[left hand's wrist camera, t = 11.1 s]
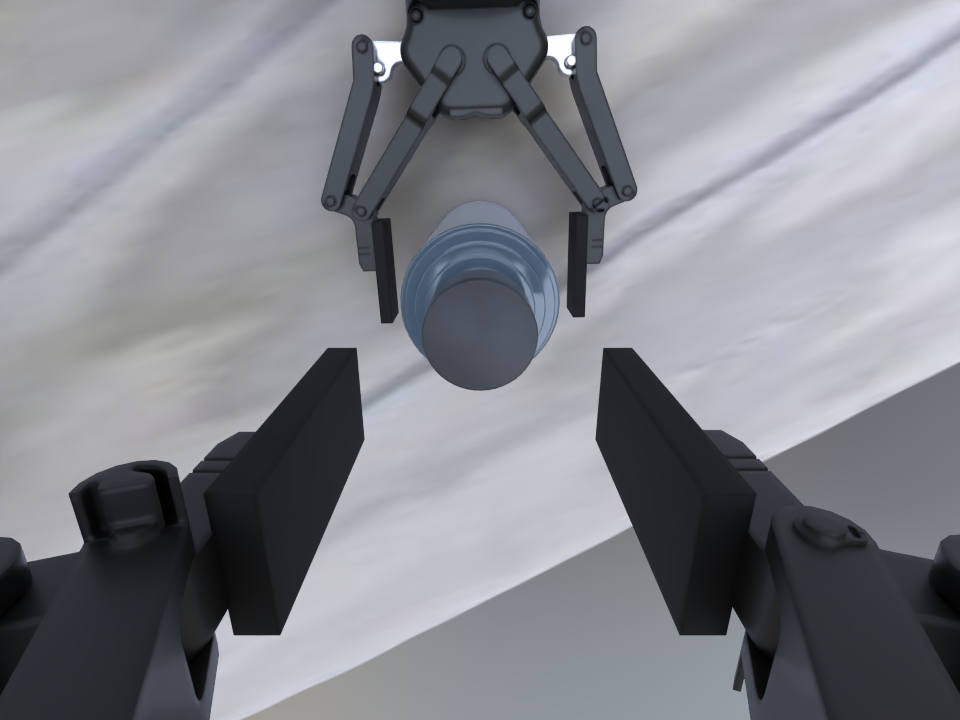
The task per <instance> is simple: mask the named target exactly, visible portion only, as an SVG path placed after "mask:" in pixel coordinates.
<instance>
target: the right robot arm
mask: <svg viewBox="0 0 960 720" xmlns="http://www.w3.org/2000/svg"><path fill="white" fill-rule="evenodd" d="M539 2H540V0H406V12H407V25H406V30H405V34H404V37H403V39H402V41H401V42H394V41H372V40H371V39H370V38H369V37H367V36H366V35H362V34H361V35H357V36H356V37H355V38H354V39H353V41H352V62H353V84H352V87H351V91H350V95H349V98H348V102H347V106H346V109H345V113H344V117H343V120H342V124H341V128H340V131H339V135H338V139H337V142H336V146H335V150H334V153H333V157H332V161H331V164H330V168H329V172H328V175H327V179H326V183H325V186H324V190H323V194H322V197H321V202H322V205H323V207H324V208H325V209H326V210H328V211H335V212H338V213H341V214H344V215H347V216H349V217H350V218H351V219H352V220H353V222H354V224H355V229H356V238H357V247H358V254H359V255H358V256H359V264H360V266H361V268H362V270H363V271H376V277H377V286H378V296H379V306H380V316H381V323H393V321H394V320H395V318H396V316H397V314H398V313H399V311H398V300H397V289H396V278H395V267H394V255H393V244H392V233H391V222H390V218H382V219H378V217H377V215H378V214H379V213H378V211H379V210H380V208H381V206H382V205H383V203H384V202H385V200H386V198H387V197H388V195H389V193H390V192H391V190H392V188H393V187H394V185H395V184H396V182H397V180H398V179H399V177H400V175H401V174H402V172H403V171H404V169H405V167H406V166H407V164H408V162H409V161H410V159H411V157H412V156H413V154H414V153H415V151H416V149H417V148H418V146H419V144H420V143H421V141H422V139H423V138H424V136H425V135H426V133H427V131H428V130H429V129H430V128H431V126H432V125H433V123H434V122H435V120H436V118H437V117H438V115H439V114H440V113H441V114H442V115H443V116H445V117H447V118H451V120H464V119H467V118H470V117H473V116H481V117H485V118H489V119H492V118H502V116H505V115H507V114H509V113H510V112H511V111H512V110H513V111H514V113H515V114H516V116H517V117H518V118H519V120H520V121H521V123H522V124H523V125H524V126H525V127H526V128H527V130H528V131H529V132H530V134H531V135H532V137H533V138H534V139H535V141H536V142H537V144H538V145H539V147H540V148H541V149H542V151H543V152H544V154H545V155H546V156H547V158H548V159H549V161H550V162H551V163H552V165H553V166H554V168H555V169H556V171H557V172H558V173H559V175H560V176H561V178H562V179H563V180H564V182H565V183H566V185H567V186H568V187H569V189H570V190H571V192H572V193H573V195H574V196H575V197H576V199H577V200H578V202H579V203H580V204H581V206H582V212H569V242H568V281H567V308H568V310H569V311H570V313H571V315H572V316H573V317H585V295H586V269H587V264H599V263H600V261H601V259H602V256H603V242H604V241H603V240H604V222H605V215H606V212H607V211H608V210H609V209H610V208H611V207H613V206H615V205H617V204H620V203H622V202H625V201H630V200H632V199H633V198H634V197H635V196H636V194H637V186H636V183H635V180H634V177H633V174H632V171H631V169H630V166H629V163H628V160H627V157H626V154H625V151H624V148H623V145H622V143H621V140H620V137H619V134H618V131H617V128H616V125H615V122H614V119H613V116H612V114H611V111H610V108H609V105H608V102H607V99H606V96H605V93H604V90H603V87H602V85H601V82H600V79H599V76H598V73H597V37H596V33H595V31H594V29H593V28H591V27H589V26H584V27H581V28H580V29H579V30H578V31H577V33H574V34H565V35H555V36H546V34H545V32H544V30H543V28H542V25H541V21H540V13H539ZM545 59H550V60H552V61H553V62H555V64H556V66H557V69H558V72H559V74H560V75H561V76H563V77H569V81H570V86H571V90H572V93H573V97H574V99H575V102H576V105H577V108H578V110H579V113H580V116H581V119H582V121H583V124H584V127H585V129H586V132H587V135H588V138H589V140H590V143H591V146H592V149H593V151H594V154H595V157H596V160H597V162H598V165H599V168H600V171H601V173H602V176H603V179H604V182H605V184H606V185H605V186H603V187H601V188H599V186H598V185H597V183H596V182H595V181H594V179H593V178H592V176H591V175H590V173H589V172H588V170H587V169H586V167H585V166H584V165H583V163H582V162H581V160H580V159H579V157H578V156H577V154H576V153H575V151H574V150H573V149H572V147H571V146H570V144H569V143H568V141H567V140H566V138H565V137H564V136H563V134H562V133H561V131H560V130H559V128H558V127H557V125H556V124H555V122H554V121H553V120H552V118H551V117H550V115H549V114H548V112H547V111H546V109H545V106H544V104H543V103H542V101H541V100H540V98H539V97H538V95H537V94H536V92H535V91H534V89H533V88H532V87H531V85H530V83H531V82H532V80H533V78H534V77H535V75H536V74H537V72H538V70H539V69H540V67H541V66H542V64H543V62H544V61H545ZM401 64H404V65H405V67H406V68H407V70H408V71H409V72H410V74H411V75H412V76H413V78H414V79H415V81H416V82H417V83H418V85H419V86H420V87H421V89H420V90H419V92H418V94H417V95H416V97H415V99H414V100H413V102H412V104H411V105H410V107H409V109H408V112H407V115H406V117H405V118H404V120H403V122H402V123H401V125H400V127H399V129H398V130H397V132H396V134H395V135H394V137H393V139H392V140H391V142H390V144H389V145H388V147H387V149H386V150H385V152H384V154H383V155H382V157H381V159H380V161H379V162H378V164H377V166H376V167H375V169H374V171H373V172H372V174H371V176H370V177H369V179H368V181H367V182H366V184H365V186H364V188H363V189H362V191H361V193H360V194H359V196H356V195H353V194H352V193H353V189H354V186H355V183H356V179H357V176H358V172H359V169H360V165H361V162H362V159H363V155H364V152H365V148H366V145H367V141H368V138H369V135H370V131H371V128H372V124H373V121H374V117H375V114H376V111H377V107H378V104H379V100H380V95H381V88H382V84H386V83H388V82H389V81H390V80H391V79H392V76H393V71H394V69H395V68H396V67H397V66H398V65H401Z"/></svg>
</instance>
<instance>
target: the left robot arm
mask: <svg viewBox="0 0 960 720" xmlns="http://www.w3.org/2000/svg"><path fill="white" fill-rule="evenodd" d="M363 442H364V428H363V417H362V405H361V394H360V382H359V371H358V359H357V348H327V350H326V351H325V352H324V353H323V354H322V355H321V357H320V358H319V359H318V360H317V361H316V362H315V364H314V365H313V366H312V367H311V368H310V369H309V371H308V372H307V373H306V374H305V375H304V376H303V378H302V379H301V380H300V381H299V382H298V383H297V385H296V386H295V387H294V388H293V389H292V390H291V392H290V393H289V394H288V395H287V396H286V397H285V399H284V400H283V401H282V402H281V403H280V404H279V406H278V407H277V408H276V409H275V410H274V411H273V413H272V414H271V415H270V416H269V417H268V418H267V420H266V421H265V422H264V423H263V424H262V425H261V427H260V428H259V429H258V430H257V431H256V432H238V433H236V434H235V435H233V436H231V437H229V438H227V439H226V440H224V441H222V442H220V443H219V444H217V445H216V446H215V447H214V448H213V449H212V451H211V452H210V453H209V454H208V455H207V456H206V457H205V458H204V461H201V462H200V463H199V464H198V465H197V466H196V467H195V468H194V469H193V473H189V474H188V476H187V477H186V478H185V479H184V480H183V481H182V482H181V483H180V480H179V476H178V471H177V468H176V467H175V466H173V465H172V464H170V463H169V462H164V461H157V460H149V461H136V462H131V463H127V464H123V465H118V466H115V467H112V468H110V469H107V470H104V471H102V472H99V473H96V474H95V475H93V476H91V477H89V478H88V479H86V480H84V481H82V482H81V483H79V484H78V485H77V486H76V487H75V488H74V489H73V490H72V491H71V492H70V493H69V497H70V500H71V503H72V506H73V509H74V512H75V515H76V519H77V522H78V525H79V528H80V531H81V534H82V537H83V540H84V545H83V547H82V548H81V550H80V552H77V553H72V554H67V555H62V556H57V557H52V558H47V559H42V560H37V561H31V562H27V561H26V558H25V555H24V553H23V550H22V547H21V545H20V543H18V542H17V541H15V540H14V539H12V538H5V537H0V720H209V719H210V712H211V705H212V698H213V692H214V685H215V678H216V671H217V664H218V657H219V651H218V643H217V639H216V635H215V630H216V629H217V627H218V625H219V623H220V622H221V620H222V618H223V616H224V615H225V613H226V611H227V609H228V611H229V615H230V620H231V624H232V629H233V634H234V635H281V632H282V630H283V628H284V625H285V623H286V621H287V618H288V616H289V614H290V611H291V609H292V607H293V604H294V602H295V600H296V597H297V595H298V593H299V590H300V588H301V586H302V583H303V581H304V579H305V576H306V574H307V572H308V569H309V567H310V565H311V562H312V560H313V558H314V555H315V553H316V551H317V549H318V546H319V544H320V542H321V539H322V537H323V535H324V532H325V530H326V528H327V525H328V523H329V521H330V518H331V516H332V514H333V511H334V509H335V507H336V504H337V502H338V500H339V497H340V495H341V493H342V490H343V488H344V486H345V483H346V481H347V479H348V476H349V474H350V472H351V469H352V467H353V465H354V463H355V460H356V458H357V456H358V453H359V451H360V449H361V446H362V444H363ZM596 442H597V444H598V446H599V449H600V451H601V453H602V456H603V458H604V460H605V463H606V465H607V467H608V469H609V472H610V474H611V476H612V479H613V481H614V483H615V486H616V488H617V490H618V493H619V495H620V497H621V500H622V502H623V504H624V507H625V509H626V511H627V514H628V516H629V518H630V521H631V523H632V525H633V528H634V530H635V532H636V535H637V537H638V539H639V542H640V544H641V546H642V549H643V551H644V553H645V555H646V558H647V560H648V562H649V565H650V567H651V569H652V572H653V574H654V576H655V579H656V581H657V583H658V586H659V588H660V590H661V593H662V595H663V597H664V600H665V602H666V604H667V607H668V609H669V611H670V614H671V616H672V618H673V620H674V623H675V625H676V627H677V630H678V632H679V635H726V634H727V629H728V624H729V620H730V615H731V611H732V607H733V608H734V610H735V612H736V614H737V615H738V617H739V619H740V621H741V622H742V624H743V626H744V627H745V629H746V630H745V635H744V639H743V643H742V648H741V652H740V656H739V660H738V665H737V669H736V673H735V678H734V685H733V690H736V691H741V688H742V684H743V680H744V679H745V683H746V690H747V697H748V704H749V711H750V718H751V720H960V535H950V536H948V537H946V538H945V539H943V540H942V541H941V542H940V545H939V547H938V550H937V553H936V555H935V558H934V560H931V559H926V558H921V557H916V556H911V555H906V554H901V553H895V552H891V551H886V550H882V549H879V547H878V546H877V544H876V542H875V541H874V540H873V539H872V538H871V536H870V535H869V534H868V533H867V532H866V531H865V530H864V529H862V528H861V527H859V526H858V525H856V524H855V523H854V522H852V521H851V520H849V519H846V518H844V517H842V516H840V515H838V514H835V513H833V512H831V511H827V510H823V509H819V508H815V507H812V506H804V505H803V504H802V503H801V502H800V501H799V500H798V499H797V498H796V497H795V496H794V495H793V494H792V493H791V492H790V491H789V490H788V489H787V488H786V487H785V486H784V484H782V482H781V481H780V480H779V479H778V478H777V477H776V476H775V475H774V474H773V473H772V472H771V471H768V468H767V467H766V466H765V465H764V464H763V463H762V462H761V461H760V460H759V459H756V456H755V455H754V453H753V452H752V451H751V450H750V449H749V448H748V447H747V446H746V445H745V444H744V443H743V442H741V441H740V440H738V439H736V438H734V437H732V436H731V435H729V434H727V433H725V432H724V431H722V430H702V429H701V428H700V427H699V425H698V424H697V423H696V422H695V421H694V420H693V418H692V417H691V416H690V415H689V414H688V413H687V411H686V410H685V409H684V408H683V407H682V406H681V404H680V403H679V402H678V401H677V400H676V399H675V397H674V396H673V395H672V394H671V393H670V392H669V390H668V389H667V388H666V387H665V386H664V385H663V383H662V382H661V381H660V380H659V379H658V378H657V376H656V375H655V374H654V373H653V372H652V371H651V369H650V368H649V367H648V366H647V365H646V364H645V362H644V361H643V360H642V359H641V358H640V357H639V355H638V354H637V353H636V352H635V351H634V350H633V348H603V359H602V371H601V382H600V394H599V405H598V417H597V428H596Z"/></svg>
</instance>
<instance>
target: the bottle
mask: <svg viewBox="0 0 960 720" xmlns="http://www.w3.org/2000/svg"><path fill="white" fill-rule="evenodd" d="M474 269H486V270H492V271H496V272H499V273H501V274H503V275H506V276H507V277H509V278H510V279H512V280H513V281H514V282H516V283H517V284H518V285H519V286H520V288H521V289H522V290H523V291H524V293H525V294H526V296H527V298H528V300H529V303H530V305H531V308H532V311H533V313H534V316H535V319H536V322H537V327H538V343H537V348H536V351H535V354H534V357H536V356H537V355H538V353H539V352H540V351H541V350H542V349H543V348H544V346H545V345H546V343H547V342H548V340H549V339H550V337H551V335H552V333H553V331H554V328H555V325H556V322H557V318H558V313H559V303H560V301H559V289H558V284H557V280H556V277H555V274H554V271H553V269H552V267H551V265H550V263H549V261H548V260H547V259H546V257H545V256H544V254H543V253H542V251H541V250H540V249H539V247H538V246H537V245H536V244H535V242H534V241H533V240H532V238H531V237H530V236H529V234H528V233H527V232H526V230H525V229H524V228H523V227H522V225H521V224H520V223H519V221H518V220H517V219H516V218H515V216H514V215H513V214H512V213H511V212H509V211H508V210H507V209H505V208H504V207H502V206H500V205H498V204H495V203H492V202H487V201H472V202H468V203H465V204H462V205H460V206H458V207H456V208H455V209H453V210H452V211H451V212H449V213H448V214H447V215H446V216H445V218H444V219H443V220H442V221H441V223H440V224H439V225H438V227H437V228H436V229H435V231H434V232H433V233H432V235H431V236H430V237H429V239H428V240H427V241H426V242H425V244H424V245H423V246H422V248H421V249H420V250H419V252H418V253H417V254H416V256H415V257H414V258H413V260H412V262H411V263H410V265H409V267H408V269H407V272H406V274H405V277H404V280H403V284H402V289H401V313H402V318H403V322H404V325H405V328H406V330H407V333H408V335H409V337H410V339H411V340H412V342H413V343H414V345H415V346H416V348H417V349H418V350H419V351H420V352H421V354H423V355H424V356H425V357H426V358H427V356H426V354H425V351H424V348H423V342H422V328H423V323H424V319H425V316H426V313H427V311H428V308H429V305H430V303H431V300H432V298H433V296H434V295H435V293H436V291H437V290H438V289H439V288H440V286H441V285H442V284H443V283H444V282H446V281H447V280H448V279H450V278H451V277H453V276H455V275H456V274H459V273H461V272H464V271H468V270H474ZM534 357H533V358H534Z"/></svg>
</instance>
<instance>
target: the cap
mask: <svg viewBox="0 0 960 720" xmlns="http://www.w3.org/2000/svg"><path fill="white" fill-rule="evenodd" d="M422 342H423V348H424V351H425V354H426V356H427V359H428V361H429V362H430V364H431V366H432V367H433V368H434V369H435V371H436V372H437V373H438V374H439V375H440V376H441V377H443V378H444V379H445V380H447V381H448V382H450V383H452V384H454V385H456V386H459V387H461V388H465V389H469V390H491V389H495V388H499V387H501V386H504V385H506V384H508V383H510V382H512V381H513V380H515V379H516V378H517V377H518V376H520V375H521V374H522V373H523V372H524V371H525V369H526V368H527V367H528V365H529V364H530V362H531V360H532V359H533V357H534V354H535V351H536V348H537V343H538V327H537V322H536V319H535V316H534V313H533V311H532V308H531V305H530V303H529V300H528V298H527V296H526V294H525V293H524V291H523V290H522V289H521V288H520V286H519V285H518V284H517V283H516V282H514V281H513V280H512V279H510V278H509V277H507V276H506V275H503V274H501V273H499V272H496V271H492V270H486V269H474V270H468V271H464V272H461V273H459V274H456V275H455V276H453V277H451V278H450V279H448V280H447V281H446V282H444V283H443V284H442V285H441V286H440V288H439V289H438V290H437V291H436V293H435V295H434V296H433V298H432V300H431V303H430V305H429V308H428V311H427V313H426V316H425V319H424V323H423V328H422Z"/></svg>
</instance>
